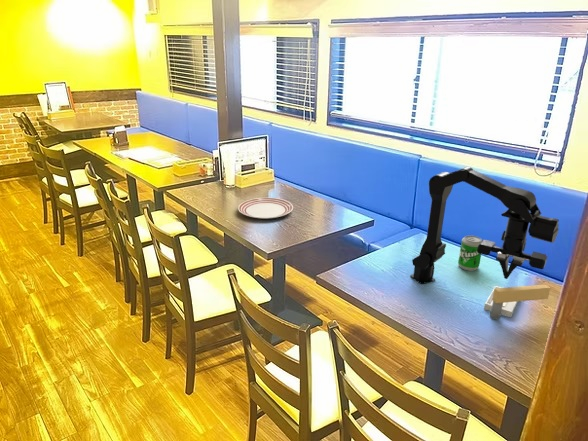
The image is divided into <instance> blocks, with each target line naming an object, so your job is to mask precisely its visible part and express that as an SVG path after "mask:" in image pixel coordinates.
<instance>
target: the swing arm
mask: <svg viewBox="0 0 588 441" xmlns="http://www.w3.org/2000/svg"><path fill="white" fill-rule="evenodd" d="M493 289H494V288H493ZM550 292H551V287H550V286H549V285H548V284H547V283H546V284H537V285H535V284H534V285H521V286H507V287H502V288H495V289H494V294H493V298H492V300H493V304H492V309H491V311H490V315H489V317H490V318H491V319H492V320H493V319H494V320H500V318H501V310H502V306H503V303H505V302H517V301H518V302H526V301H529V302H530V301H539V300H548V299H549V296H550Z"/></svg>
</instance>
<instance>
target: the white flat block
mask: <svg viewBox="0 0 588 441" xmlns="http://www.w3.org/2000/svg"><path fill="white" fill-rule="evenodd" d="M493 287H494V288H492V289H493V290H492V291H491V292H490V294H489V296H488V297H487V299H486V301H485V303H484V306H483V310H486V311H489V312H491V309H492V304H493V300H492V298H493V294H494V289H495V288H503V287H501V286H497V285H495V286H493ZM518 303H519V301H517V302H505V303H503V306H502V310H501V315H502V316H504V317H508V318H512V315H513V314H514V312H515V309H516V307H517V304H518ZM501 315H500V316H501Z"/></svg>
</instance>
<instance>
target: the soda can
mask: <svg viewBox="0 0 588 441" xmlns="http://www.w3.org/2000/svg"><path fill="white" fill-rule="evenodd" d="M482 241H483V239H482V238H481V237H479V236H476V235H465V236H464V237H463V238H462V239H461V243H460V244H461V245H460V250H459V254H458V255H459V256H458V262H457V263H458V264H457V265H458V266H459V267H460V269H462V270H463V271H468V272H472V271H473V272H474V271H476V270H478V269H479V268H480V264H481V258H482V254H480V253H478V252H477V249H478V245H479V244H480V243H481V242H482Z"/></svg>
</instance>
